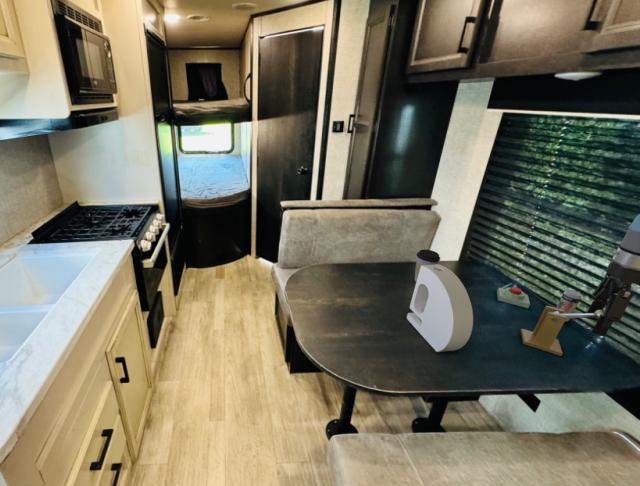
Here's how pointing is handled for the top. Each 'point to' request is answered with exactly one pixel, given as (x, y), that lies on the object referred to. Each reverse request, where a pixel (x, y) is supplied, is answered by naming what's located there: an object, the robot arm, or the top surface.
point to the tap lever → (583, 315)
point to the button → (515, 290)
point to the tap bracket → (546, 332)
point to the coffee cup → (426, 260)
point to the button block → (513, 297)
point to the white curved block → (441, 308)
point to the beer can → (569, 302)
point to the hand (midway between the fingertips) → (593, 326)
